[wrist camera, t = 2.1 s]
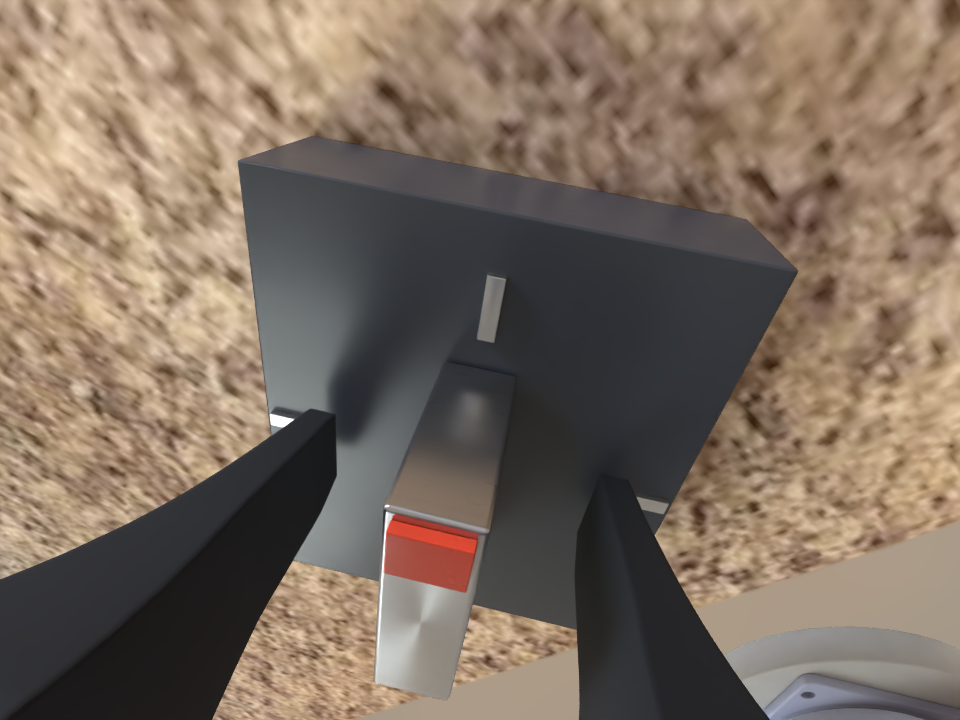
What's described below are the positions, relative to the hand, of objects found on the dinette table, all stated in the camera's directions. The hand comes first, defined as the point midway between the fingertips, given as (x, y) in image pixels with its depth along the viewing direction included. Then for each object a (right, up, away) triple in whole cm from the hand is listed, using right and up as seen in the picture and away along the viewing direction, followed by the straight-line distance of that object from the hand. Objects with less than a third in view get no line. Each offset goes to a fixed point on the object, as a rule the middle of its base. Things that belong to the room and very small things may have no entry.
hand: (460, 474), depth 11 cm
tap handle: (0, 0, 0) cm, 0 cm away
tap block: (+1, +2, +3) cm, 3 cm away
